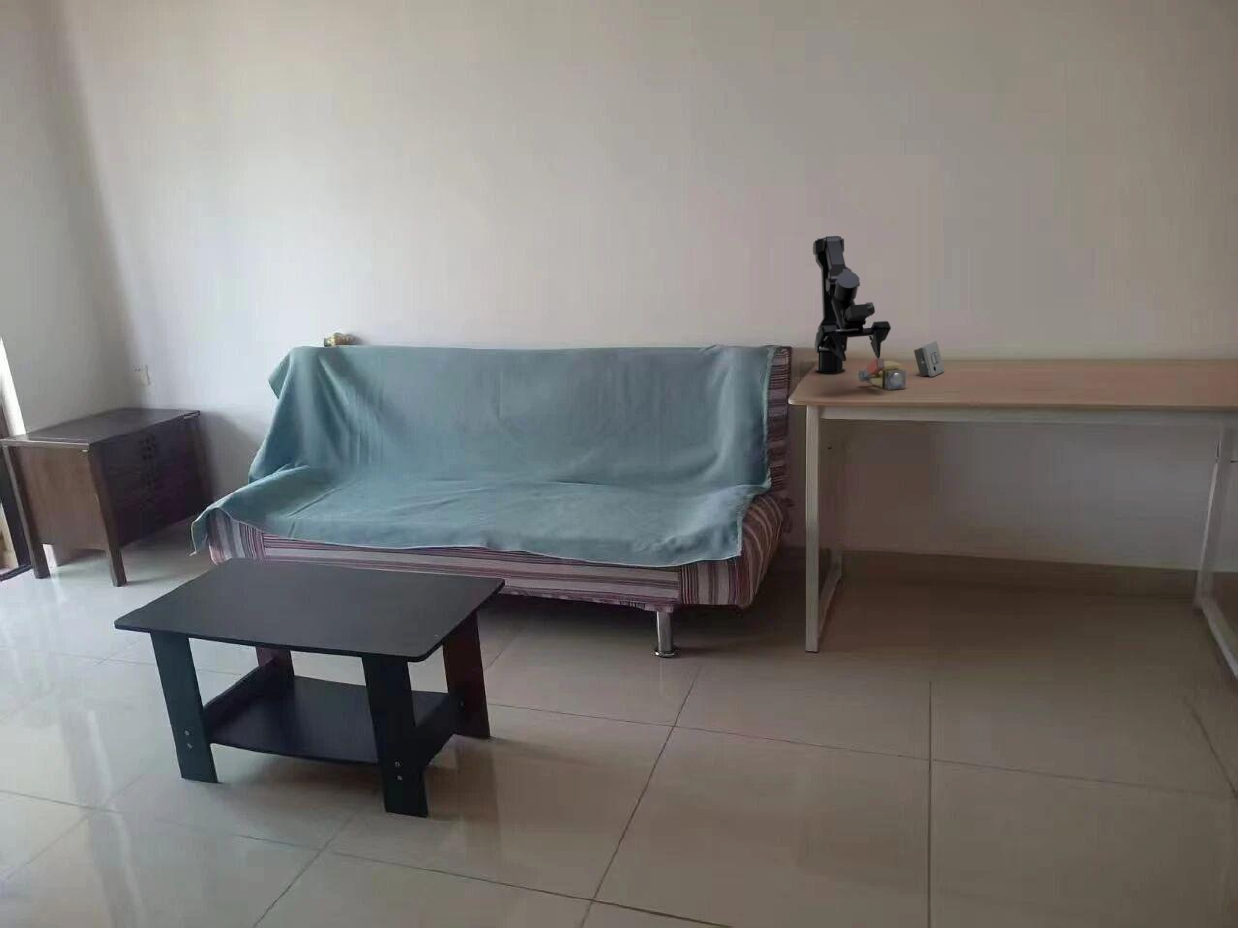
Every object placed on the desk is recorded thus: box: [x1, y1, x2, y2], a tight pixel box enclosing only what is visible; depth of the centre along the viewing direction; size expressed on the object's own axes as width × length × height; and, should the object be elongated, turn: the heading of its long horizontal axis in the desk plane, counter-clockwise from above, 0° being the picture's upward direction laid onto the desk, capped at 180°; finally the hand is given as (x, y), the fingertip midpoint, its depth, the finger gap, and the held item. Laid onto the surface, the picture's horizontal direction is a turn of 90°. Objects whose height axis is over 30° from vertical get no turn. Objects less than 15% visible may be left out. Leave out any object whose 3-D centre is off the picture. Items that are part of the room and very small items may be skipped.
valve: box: [868, 360, 907, 391], centre depth 262 cm, size 15×8×6 cm, turn 8°
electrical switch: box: [913, 340, 945, 378], centre depth 273 cm, size 9×5×9 cm, turn 141°
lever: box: [858, 358, 885, 383], centre depth 256 cm, size 3×2×14 cm
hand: (862, 359), depth 249 cm, fingers open, 9 cm apart
